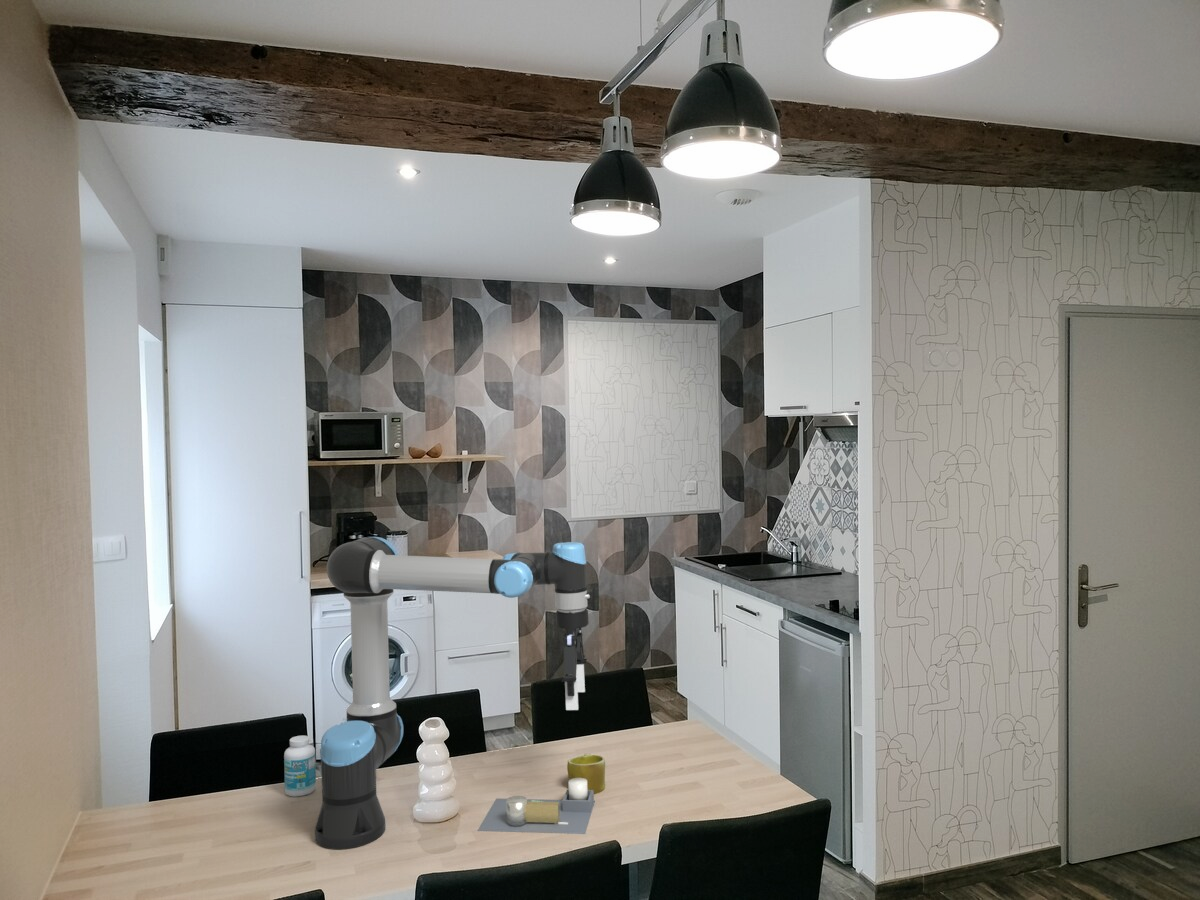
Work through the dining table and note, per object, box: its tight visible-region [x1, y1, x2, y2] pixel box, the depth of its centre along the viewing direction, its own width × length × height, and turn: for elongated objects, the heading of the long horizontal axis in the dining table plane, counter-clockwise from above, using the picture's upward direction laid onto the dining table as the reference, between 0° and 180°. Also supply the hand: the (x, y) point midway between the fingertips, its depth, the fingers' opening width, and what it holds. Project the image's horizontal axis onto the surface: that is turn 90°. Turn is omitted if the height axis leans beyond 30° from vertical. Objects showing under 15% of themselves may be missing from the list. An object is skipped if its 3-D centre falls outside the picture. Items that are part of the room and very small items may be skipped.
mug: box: [566, 753, 606, 795], centre depth 207 cm, size 12×10×10 cm
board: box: [477, 789, 596, 835], centre depth 190 cm, size 24×17×4 cm
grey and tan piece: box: [506, 795, 560, 826], centre depth 186 cm, size 12×5×5 cm, turn 83°
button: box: [567, 778, 588, 800], centre depth 195 cm, size 4×4×4 cm
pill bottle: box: [283, 735, 317, 798], centre depth 211 cm, size 8×7×14 cm
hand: (575, 700), depth 194 cm, fingers open, 13 cm apart
